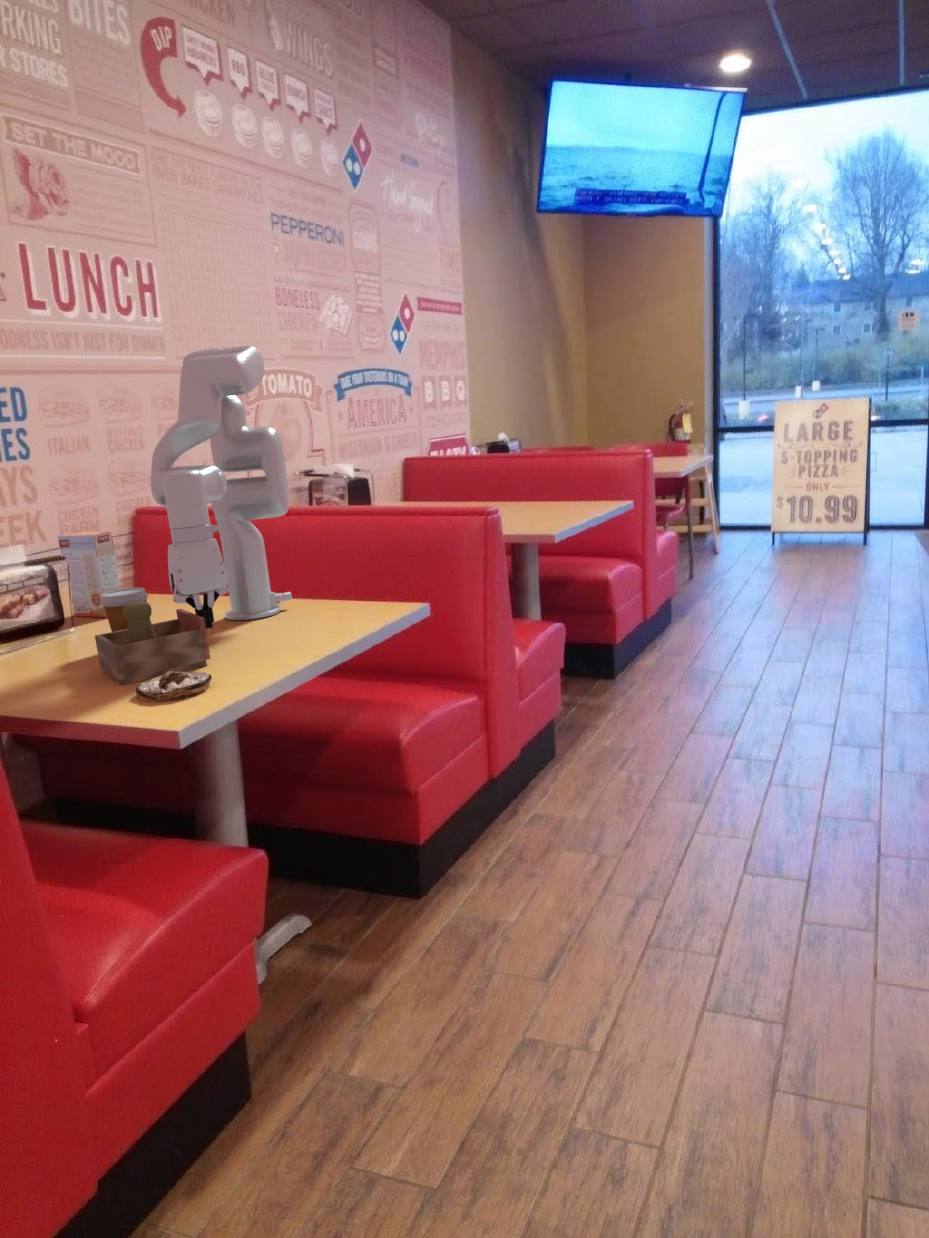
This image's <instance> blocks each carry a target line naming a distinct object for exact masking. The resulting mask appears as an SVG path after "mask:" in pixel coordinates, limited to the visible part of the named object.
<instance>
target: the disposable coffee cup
mask: <svg viewBox="0 0 929 1238" xmlns="http://www.w3.org/2000/svg"><path fill="white" fill-rule="evenodd" d="M148 597H149V594H148V593H147V591H146V589H145V588H144V587H130V588H121V589H120V590H115V591H111V592H107V593H104V594H102V600H101V603H102V605H103V606H104V609H105V612H106V615H107V618H106V619H107V620H108V623H109V624H108V625H109V627H110V630H111V631H110V632H115V631H120V630H125V629H128V623H127V620H126V619H125V618H124V616H123V608H124V606H125V605H126V604H129V603H132V602H137V601H144V602H147V603H148V601H147V600H148Z"/></svg>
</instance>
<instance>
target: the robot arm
mask: <svg viewBox="0 0 929 1238" xmlns="http://www.w3.org/2000/svg"><path fill="white" fill-rule="evenodd" d="M264 374H265V363H264V359H263V356H262V354H261V352H260V350H258V349H257V348H256V347H255V346H253V345H241V346H231V347H221V348H207V349H200V350H196V351H192V352H190V353H188V354H186V355H185V356H184V357H183V360H182V366H181V370H180V376H179V377H180V378H179V391H178V393H179V394H178V395H179V396H178V409H177V410H178V411H177V419H176V422H175V423H174V424H172V426H170V428H168V429H167V431H166V432H164V434H163V436H162V437H161V438H160V440H159V441H158V442H157V444H156V445H155V448H154V450H153V453H152V457H151V466H150V490H151V491H150V492H151V496H152V497H153V499H154V501H155V502H156V503H157V504H158V505H159V506H162V507H166V513H167V518H168V519H167V520H168V526H169V532H170V538H171V542H172V543H171V544H168V545H167V566H168V579H169V586H170V587H169V588H170V591H171V592H172V593H173V598H172V599H173V600H172V601H173V602H174V603H177V604H187V605H189V606H190V607H192V609H194V614H196V615H198V616H201V617H203V618H204V621H205V627H206V630H207V629H213V628H214V626H213V623H215V617H214V611H213V607H214V606H215V603H216V601H217V599H219V597H222V596H224V595H226V594H228V596H229V603H230V609H229V610H227V611H226V612H225V613H224V614H225V619H226V620H228V621H229V620H230V621H247V620H248V621H249V620H255V619H262V618H267V617H270V616H273V615H276V614H278V613H279V612H280V611H281V606H280V605H279V604H280V603H281V602H286V601H292V599H293V595H292V592H291V591H286V592H278V593H277V592H274V591H272V590H271V583H270V575H269V569H268V562H267V554H266V549H265V547H266V546H265V541H264V540H265V539H264V537H263V534H262V533H261V531H260V530H259V529H258V528H257V527H256V526H255V525H254V524H253V523H252V522H251V521H254V520H260V519H271V518H278V517H282V516H284V515H286V514H287V513H288V511H289V510H290V509H289V508H290V492H289V483H288V474H287V466H286V458H285V457H286V456H285V450H284V444H283V441H282V437H281V436H280V435H281V434H280V433H279V432H278V430H277V429H275V428H273V427H270V426H257V427H248V424H247V417H246V415H247V414H246V407H245V405H244V403H243V402H242V400H241V399H240V398H239V396H240V395H242V396H243V395H247V394H250V393H251V392H253V391H254V390H255V389H256V388H257V387H258V386H259V385H260V384H261V383H262V380H263V378H264ZM208 440H209V442H210V449H211V450H210V451H211V456H212V457H211V458H212V461H213V464H214V465H213V464H202V465H201V464H198V465H188V466H177V467H173V466H174V464H175V463H176V461H177V460H178V459H179V458H180V457H181V456H182V455H183V454H185V453H186V452H188V451H190V450H191V449H193V448H195V447H197V446H198V445H200V444H203V443H204V442H206V441H208ZM252 471H262V472H264V475H260V476H259V475H258V476H251V477H249V476H247V477H246V476H245V477H237V478H228V479H227V478H226V475H225V473H242V472H252ZM208 504H211V508H212V511H213V514H214V517H215V521H216V523H217V524H213V523H211V520H210V514H209V508H208V507H209V506H208ZM217 532H219V538H220V542H221V548H222V553H221V550H220V547H219V543H218V541H217V539H216V538H214V534H215V533H217ZM200 594H202V597H203V598H202V600H201V597H200ZM202 602H203V603H202Z"/></svg>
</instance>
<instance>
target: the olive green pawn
mask: <svg viewBox="0 0 929 1238" xmlns="http://www.w3.org/2000/svg"><path fill="white" fill-rule="evenodd" d="M123 616H124V618H125V619H126V620H127V623H128V644H130V643H135V642H140V641H145V640H149V639H154V638H156V636H155V633H154V630H153V626H152V624H153V623H152V620H151V616H152V606H151V604H150V603H149V602H148V601H147V602H144V601H137V602H132V603H129V604H126V605H125V606H124V608H123Z"/></svg>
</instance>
